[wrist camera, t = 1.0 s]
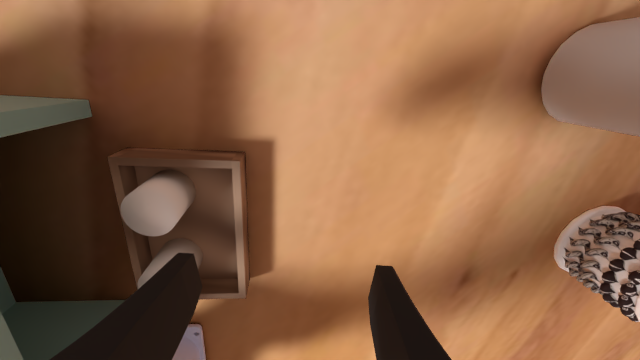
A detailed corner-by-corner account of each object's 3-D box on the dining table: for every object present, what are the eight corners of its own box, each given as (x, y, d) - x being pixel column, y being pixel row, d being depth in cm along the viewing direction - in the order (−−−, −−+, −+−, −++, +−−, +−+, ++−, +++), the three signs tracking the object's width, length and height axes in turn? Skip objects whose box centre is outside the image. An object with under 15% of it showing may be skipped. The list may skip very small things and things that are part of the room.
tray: (249, 278, 27) (245, 298, 25) (153, 280, 26) (139, 300, 24) (245, 151, 22) (239, 161, 20) (127, 147, 21) (107, 156, 19)
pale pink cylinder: (197, 210, 23) (180, 236, 20) (152, 209, 23) (125, 236, 19) (193, 170, 22) (173, 190, 18) (145, 168, 22) (115, 189, 18)
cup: (204, 271, 26) (189, 305, 22) (163, 271, 25) (141, 306, 22) (200, 238, 24) (184, 268, 21) (157, 238, 24) (133, 268, 20)
